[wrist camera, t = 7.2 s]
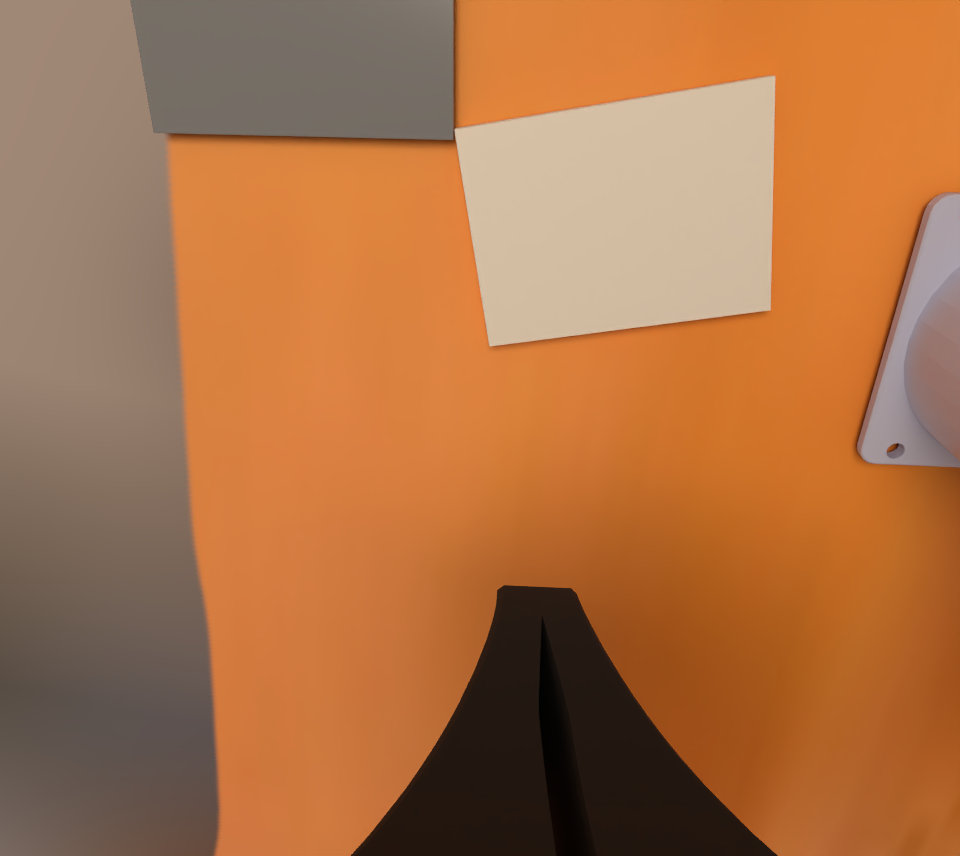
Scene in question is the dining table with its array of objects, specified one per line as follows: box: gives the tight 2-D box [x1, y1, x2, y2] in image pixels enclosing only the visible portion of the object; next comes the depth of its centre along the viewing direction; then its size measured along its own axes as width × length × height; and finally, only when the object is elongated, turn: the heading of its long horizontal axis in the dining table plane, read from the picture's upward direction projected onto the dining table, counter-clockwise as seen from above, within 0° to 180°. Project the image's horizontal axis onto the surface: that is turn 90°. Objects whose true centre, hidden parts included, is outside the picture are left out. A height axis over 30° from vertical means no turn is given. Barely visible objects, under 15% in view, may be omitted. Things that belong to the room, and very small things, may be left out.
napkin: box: [455, 75, 775, 346], centre depth 20 cm, size 8×6×1 cm
